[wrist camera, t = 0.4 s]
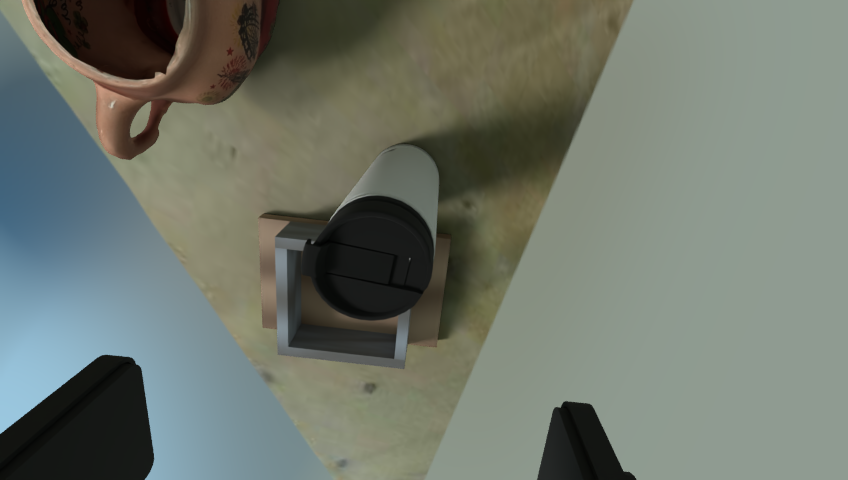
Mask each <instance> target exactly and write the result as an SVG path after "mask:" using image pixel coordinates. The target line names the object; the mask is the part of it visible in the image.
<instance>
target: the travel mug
mask: <svg viewBox="0 0 848 480" xmlns="http://www.w3.org/2000/svg"><path fill="white" fill-rule="evenodd" d="M438 194H439V172H438V168H437V165H436V163H435V161H434V160H433V159H432V157H431V156H430V155H429V154H428V153H427V152H426V151H425V150H423V149H421V148H420V147H417V146H414V145H410V144H397V145H394V146H391V147H389V148H387V149H385V150H384V151H383V152H381V153H380V154H379V155H378V157H377V158H376V159H375V160H374V162H373V163H372V164H371V166H370V167H369V168H368V170H367V171H366V172H365V173H364V175H363V176H362V177H361V179H360V180H359V181H358V183H357V184H356V185H355V187H354V188H353V189H352V191H351V192H350V193H349V195H348V196H347V197H346V198H345V200H344V201H343V202H342V204H341V205H340V206H339V208H338V209H337V210H336V212H335V213H334V214H333V216H332V217H331V219H330V221H329V223H328V224H327V225H326V227H325V228H324V230H323V231H322V232H321V234H320V235H319V236H318V238H317V239H316V241H315V242H314V243H313V244H311V241H312V239H308V240H307V241H306V243H305V246H304V249H303V254H302V262H301V274H302V275H305V276H310V277H311V280H312V283H313V285H314V287H315V290H316V291H317V293H318V294H319V295H320V297H321V298H322V299H323V300H324V301H325V302H326V303H327V304H328V305H329V306H330V307H331V308H333V309H334V310H336V311H337V312H339V313H341V314H343V315H346V316H348V317H351V318H355V319H359V320H368V321H376V320H385V319H389V318H393V317H396V316H398V315H400V314H402V313H405V312H406V311H408V310H409V309H411V308H412V307H413V306H415V304H416V303H417V301H418V300H419V299H420V297H421V296H422V295H423V292H424V291H425V290H426V289H427V288H428V285H429V283H430V280H431V277H432V271H433V262H434V256H435V245H436V228H437V211H438Z"/></svg>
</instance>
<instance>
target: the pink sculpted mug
mask: <svg viewBox="0 0 848 480" xmlns="http://www.w3.org/2000/svg"><path fill="white" fill-rule="evenodd" d="M22 3H23V6H24V8H25V11H26V13H27V16H28V18H29V20H30V22H31V24H32V26H33V27H34V29H35V31H36V32H37V34H38V35H39V36H40V38H41V39H42V40H43V41H44V42H45V44H46V45H47V46H48V47H49V48H50V49H51V50H52V51H53V52H54V53H55V54H56V55H57V56H58V57H59V58H60V59H61V60H63V61H64V62H65V63H66V64H68V65H69V66H70V67H72V68H73V69H75V70H76V71H78V72H79V73H81V74H82V75H84V76H86V77H87V78H89V79H91V80H93V81H94V83H95V86H96V92H97V104H96V124H97V129H98V133H99V138H100V141H101V143H102V145H103V147H104V148H105V150H106V151H107V152H108V153H110V154H111V155H114V156H116V157H118V158H121V159H128V160H131V159H132V158H134V157H135V156H136V155H139V154H141V153H143V152H144V151H146V150H147V149H148V148H149V147H151V146H152V145H153V144H154V143H155V142H156V140H157V138H158V136H159V130H158V126H159V123H160V121H161V118H162V116H163V115H164V114H165V113H166V112H167V110H168V108H169V106H170V105H171V104H172V102H178V103H199V104H203V105H214V104H217V103H221V102H223V101H225V100H226V99H228V98H229V97H230V96H232V95H233V94H234V93H235V92H236V91H237V89H238V88H239V87H240V86H241V84H242V83H243V82H244V80H245V79H246V78H247V76H248V75H249V74H250V72H251V71H252V69H253V66H254V64H255V62H256V60H257V59H258V58H259V57H260V55H261V54H262V52H263V51H264V49H265V48H266V46H267V44H268V42H269V40H270V38H271V35H272V32H273V29H274V26H275V21H276V13H277V8H278V4H279V0H22ZM150 101H151V103H152V104H151V111H150V116H149V120H148V123H147V126H146V128H145V129H144V130H143V132H142V133H140V134H138V135H137V136H136V137H133V138H131V137H130V127H131V123H132V121H133V119H134V117H135V115H136V113H137V112H138V111H139V109H140V108H141V107H142V106H143V105H145V104H146V103H147V102H150Z"/></svg>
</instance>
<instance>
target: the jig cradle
mask: <svg viewBox="0 0 848 480" xmlns="http://www.w3.org/2000/svg"><path fill="white" fill-rule="evenodd" d="M258 223H259V248H260V273H261V298H262V322H263V328H270V329H277V342H278V355H286V356H294V357H303V358H312V359H321V360H330V361H339V362H347V363H356V364H365V365H374V366H383V367H391V368H400V369H404V366H405V359H406V352H407V344H411V345H420V346H429V347H437V340H438V333H439V325H440V318H441V311H442V303H443V296H444V288H445V281H446V273H447V266H448V258H449V251H450V244H451V235H449V234H440V233H436V245H435V256H434V262H433V271H432V277H431V280H430V283H429V285H428V288H427V289H426V290H425V291H424V292H423V295H422V296H421V297H420V299H419V300H418V301H417V303H416V304H415V306H413V307H412V308H411V309H409V310H408V311H406V312H405V313H402V314H400V315H398V316H396V317H393V318H389V319H385V320H376V321H368V320H359V319H355V318H351V317H348V316H346V315H343V314H341V313H339V312H337V311H336V310H334V309H333V308H331V307H330V306H329V305H328V304H327V303H326V302H325V301H324V300H323V299H322V298H321V297H320V295H319V294H318V293H317V291H316V290H315V287H314V285H313V283H312V280H311V277H310V276H305V275H302V274H301V262H302V254H303V249H304V246H305V243H306V241H307V240H308V239H312V241H311V244H313V243H314V242H315V241H316V239H317V238H318V236H319V235H320V234H321V232H322V231H323V230H324V228H325V227H326V225H327V224H328V223H329V221H324V220H315V219H306V218H297V217H288V216H279V215H270V214H262V215H261V216H260V217H259V218H258Z"/></svg>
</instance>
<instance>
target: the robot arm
mask: <svg viewBox="0 0 848 480" xmlns="http://www.w3.org/2000/svg"><path fill="white" fill-rule="evenodd" d="M153 462H154V453H153V446H152V440H151V432H150V425H149V418H148V411H147V405H146V397H145V391H144V384H143V377H142V371H141V368H140V366H139V365H136V363H135V361H134V360H133V358H130V357H122V356H112V355H102V356H100V357H98V358H97V359H95V360H94V361H93V362H92V363H90V364H89V365H88V366H86V367H85V368H84V369H83V370H81V371H80V372H79V373H78V374H76V375H75V376H74V377H72V378H71V379H70V380H69V381H67V382H66V383H65V384H63V385H62V386H61V387H60V388H58V389H57V390H56V391H55V392H53V393H52V394H51V395H50V396H48V397H47V398H46V399H44V400H43V401H42V402H41V403H40V404H38V405H37V406H35V407H34V408H33V409H32V410H30V411H29V412H28V413H27V414H25V415H24V416H23V417H21V418H20V419H19V420H18V421H16V422H15V423H14V424H12V425H11V426H10V427H9V428H7V429H6V430H5V431H4V432H2V433H1V434H0V480H145V478H146V477H147V476H148V474H149V472H150V470H151V468H152V466H153ZM537 480H636V478H635V476H634V475H632V474H631V473H630V472H623V469H622V468H621V465H620V463H619V461H618V459H617V457H616V455H615V453H614V450H613V448H612V446H611V444H610V442H609V440H608V438H607V436H606V433H605V431H604V429H603V427H602V425H601V423H600V421H599V419H598V417H597V414H596V412H595V410H594V408H593V407H592V405H590V404H587V403H577V402H567V401H565V402H563V404H562V406H561V408H558V407H556V408H554V410H553V413H552V418H551V422H550V426H549V431H548V435H547V439H546V444H545V448H544V452H543V457H542V461H541V465H540V470H539V474H538V479H537Z"/></svg>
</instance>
